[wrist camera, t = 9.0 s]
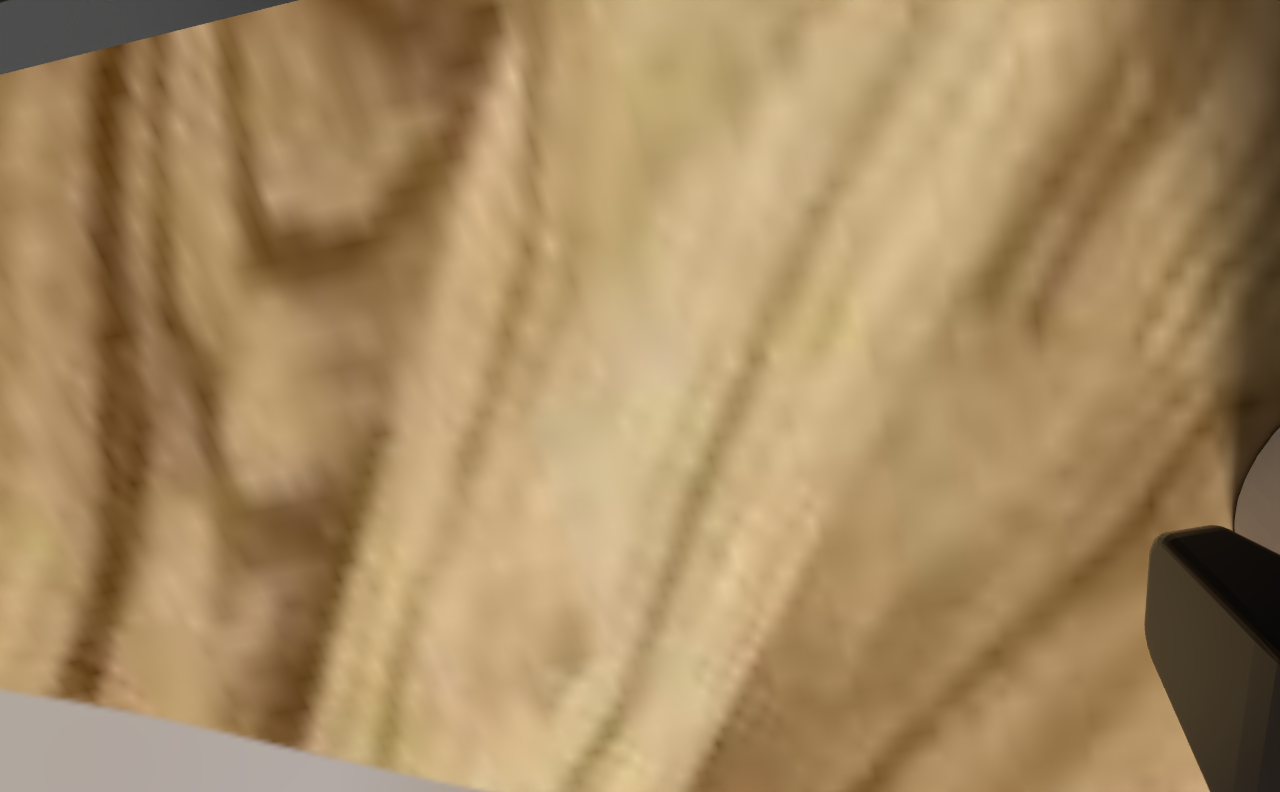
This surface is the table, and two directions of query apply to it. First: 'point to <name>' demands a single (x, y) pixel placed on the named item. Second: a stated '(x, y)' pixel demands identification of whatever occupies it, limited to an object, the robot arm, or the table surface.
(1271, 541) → the grey tall wavy piece
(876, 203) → the table surface
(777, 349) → the table surface
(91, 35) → the divided tray
